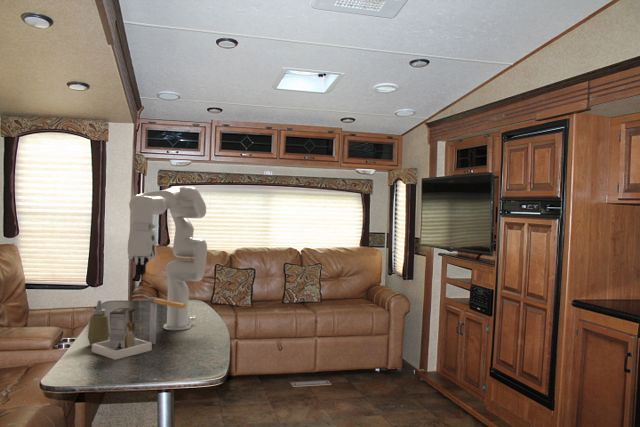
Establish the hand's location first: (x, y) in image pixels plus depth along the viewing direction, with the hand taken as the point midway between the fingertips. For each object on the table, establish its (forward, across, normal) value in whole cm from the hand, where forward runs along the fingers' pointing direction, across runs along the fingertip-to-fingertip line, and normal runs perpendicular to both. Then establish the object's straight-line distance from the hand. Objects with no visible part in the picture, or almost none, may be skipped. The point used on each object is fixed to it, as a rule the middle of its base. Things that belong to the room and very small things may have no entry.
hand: (140, 274), depth 191 cm
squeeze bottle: (+30, +20, -3) cm, 36 cm away
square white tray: (+30, +5, -2) cm, 30 cm away
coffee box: (+30, +6, +2) cm, 31 cm away
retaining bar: (+13, -7, -8) cm, 17 cm away
